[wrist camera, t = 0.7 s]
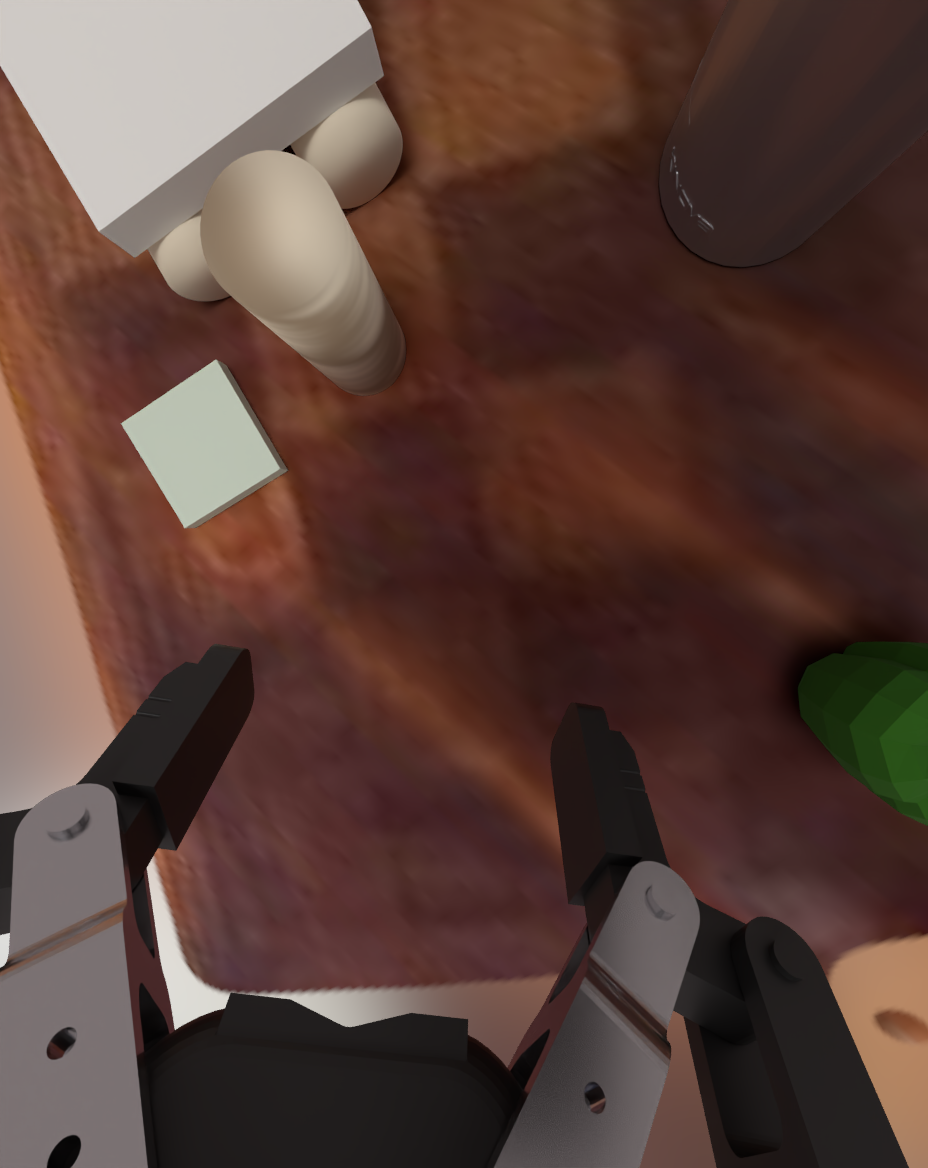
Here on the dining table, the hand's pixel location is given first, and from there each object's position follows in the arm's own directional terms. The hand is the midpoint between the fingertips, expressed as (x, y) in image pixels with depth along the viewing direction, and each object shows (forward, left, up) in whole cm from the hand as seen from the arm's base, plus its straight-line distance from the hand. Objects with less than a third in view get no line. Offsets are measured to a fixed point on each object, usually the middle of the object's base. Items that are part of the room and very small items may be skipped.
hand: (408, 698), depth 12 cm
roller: (-2, -15, -17) cm, 23 cm away
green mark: (+9, -15, -17) cm, 24 cm away
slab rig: (-2, -27, -17) cm, 32 cm away
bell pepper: (-17, +16, -17) cm, 29 cm away
